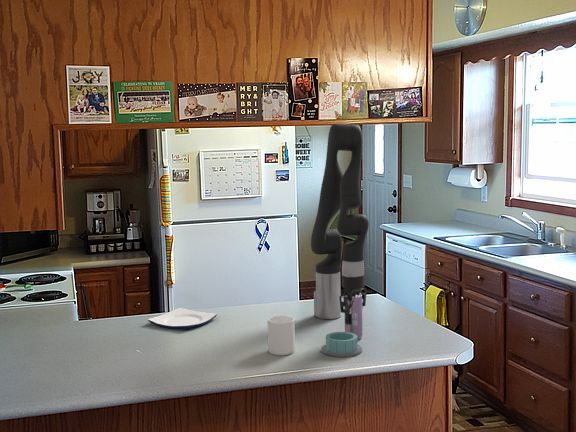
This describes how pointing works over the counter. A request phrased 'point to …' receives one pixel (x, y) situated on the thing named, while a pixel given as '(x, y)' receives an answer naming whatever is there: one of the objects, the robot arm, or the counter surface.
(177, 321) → the plate
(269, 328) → the mug
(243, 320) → the counter surface
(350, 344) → the holder
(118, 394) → the counter surface
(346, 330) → the beverage can
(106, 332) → the counter surface
